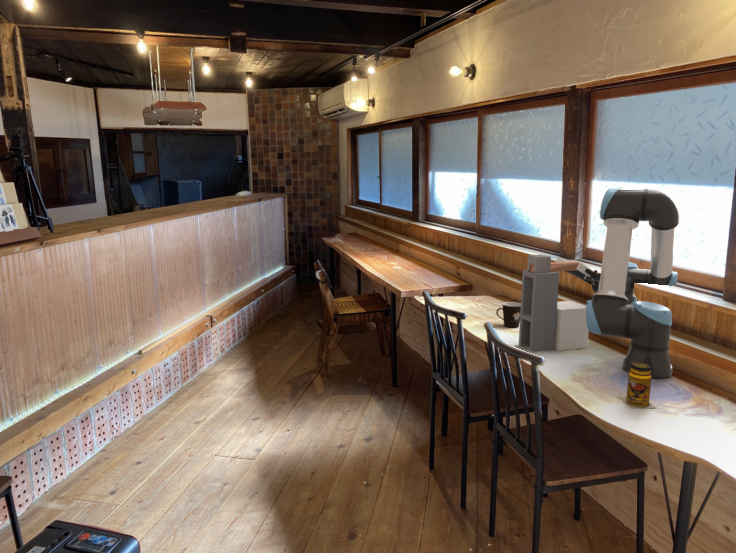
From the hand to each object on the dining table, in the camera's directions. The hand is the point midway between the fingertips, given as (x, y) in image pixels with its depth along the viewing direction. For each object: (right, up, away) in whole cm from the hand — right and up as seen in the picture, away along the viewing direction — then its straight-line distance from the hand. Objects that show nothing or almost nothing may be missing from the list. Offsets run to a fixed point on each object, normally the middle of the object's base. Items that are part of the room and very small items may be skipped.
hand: (567, 263), depth 210 cm
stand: (-11, -33, +3) cm, 35 cm away
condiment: (+3, -43, -49) cm, 65 cm away
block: (+1, -32, +6) cm, 33 cm away
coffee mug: (-15, -27, +32) cm, 45 cm away
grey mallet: (-5, -3, -1) cm, 6 cm away
